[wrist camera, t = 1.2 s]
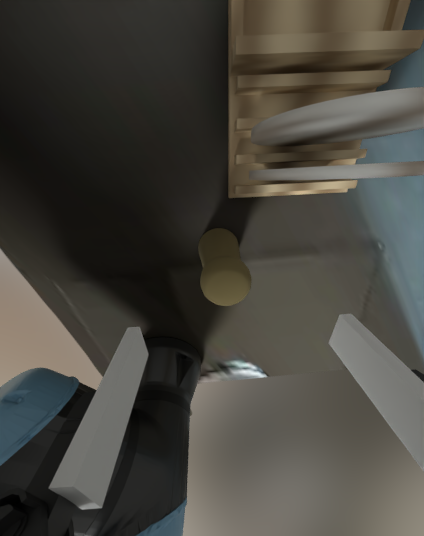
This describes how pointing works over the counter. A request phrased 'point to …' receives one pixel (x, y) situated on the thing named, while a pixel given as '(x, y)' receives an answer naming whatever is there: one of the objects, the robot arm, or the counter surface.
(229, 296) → the cork
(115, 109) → the counter surface
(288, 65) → the rack
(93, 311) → the counter surface
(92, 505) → the robot arm
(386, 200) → the counter surface
